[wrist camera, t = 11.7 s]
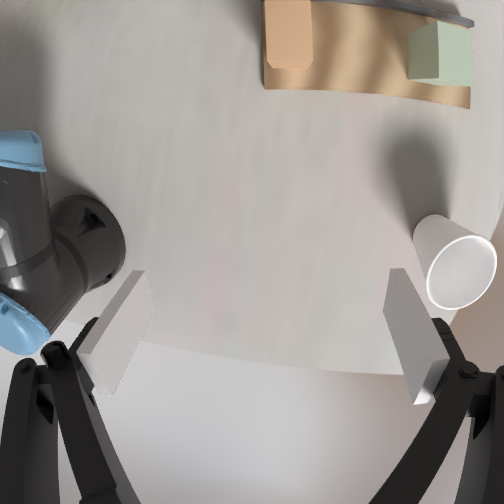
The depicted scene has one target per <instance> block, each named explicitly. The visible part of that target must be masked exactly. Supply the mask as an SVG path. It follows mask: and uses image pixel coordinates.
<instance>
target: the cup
mask: <svg viewBox="0 0 504 504" xmlns="http://www.w3.org/2000/svg"><path fill="white" fill-rule="evenodd" d="M413 243H414V246H415V249H416V252H417V255H418V258H419V261H420V265H421V268H422V271H423V275H424V278H425V287H426V292H427V295H428V297H429V299H430V300H431V301H432V302H433V303H434V304H435V305H436V306H438V307H440V308H443V309H450V310H453V309H459V308H462V307H465V306H467V305H469V304H471V303H473V302H474V301H476V300H477V299H478V298H479V297H480V296H481V295H483V293H484V292H485V291H486V290H487V288H488V287H489V285H490V284H491V282H492V280H493V278H494V275H495V272H496V267H497V256H496V252H495V249H494V246H493V245H492V244H491V242H490V241H489V240H488V239H487V238H486V237H484V236H481V235H478V234H475V233H473V232H471V231H469V230H467V229H466V228H464V227H462V226H460V225H458V224H456V223H455V222H453V221H451V220H449V219H447V218H445V217H443V216H441V215H437V214H435V215H429V216H427V217H425V218H423V219H422V220H421V221H420V222H419V223H418V224H417V226H416V228H415V230H414V234H413Z"/></svg>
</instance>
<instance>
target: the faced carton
mask: <svg viewBox="0 0 504 504" xmlns="http://www.w3.org/2000/svg"><path fill="white" fill-rule="evenodd" d="M265 24H266V50H267V61H268V63H269V64H270V65H271V67H272V68H299V69H308V68H309V66H310V65H311V63H312V62H313V42H312V19H311V1H310V0H265Z"/></svg>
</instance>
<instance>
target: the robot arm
mask: <svg viewBox="0 0 504 504" xmlns="http://www.w3.org/2000/svg"><path fill="white" fill-rule="evenodd" d="M46 171H47V168H46V166H45V164H44V157H43V148H42V141H41V138H40V137H39V135H38V134H37V133H35V132H34V131H31V130H2V131H0V345H1V346H2V347H4V348H5V349H7V350H9V351H11V352H13V353H15V354H18V355H23V356H26V355H31V354H33V353H35V352H36V351H37V350H38V349H39V348H40V347H41V346H42V344H43V343H44V342H45V341H47V340H49V338H50V337H51V335H52V334H53V333H54V331H55V330H56V329H57V327H58V326H59V325H60V323H61V322H62V321H63V320H64V318H65V317H66V316H67V315H68V313H69V312H70V311H71V310H72V308H73V307H74V306H75V305H76V303H77V302H78V301H79V300H80V298H81V297H82V296H83V295H84V294H85V293H87V292H89V291H91V290H93V289H96V288H98V287H100V286H102V285H104V284H106V283H108V282H109V281H110V280H112V279H113V278H114V276H115V275H116V274H117V273H118V272H119V270H120V269H121V267H122V265H123V263H124V260H125V252H126V249H125V240H124V236H123V233H122V231H121V228H120V226H119V224H118V222H117V221H116V219H115V218H114V216H113V215H112V214H111V213H110V211H109V210H108V209H107V208H106V207H105V206H103V205H102V204H101V203H99V202H98V201H96V200H94V199H92V198H90V197H87V196H82V195H74V196H69V197H67V198H65V199H63V200H62V201H60V202H58V203H57V204H55V205H54V206H53V207H52V208H51V209H49V202H48V193H47V183H46ZM154 313H155V307H154V304H153V300H152V296H151V293H150V289H149V285H148V281H147V277H146V273H145V271H132V272H131V274H130V275H129V277H128V278H127V279H126V281H125V282H124V283H123V285H122V286H121V287H120V289H119V290H118V292H117V293H116V294H115V296H114V297H113V299H112V300H111V301H110V303H109V304H108V306H107V307H106V308H105V310H104V311H103V313H102V314H101V316H100V317H94V318H93V319H91V320H90V321H89V322H88V323H87V324H86V325H85V327H84V328H83V329H82V331H81V332H80V334H79V336H78V337H77V338H76V339H75V341H74V342H73V344H72V346H71V347H70V348H69V350H67V348H66V346H65V344H64V342H62V341H53V342H50V343H48V344H47V345H45V346H44V347H43V349H42V350H41V354H40V355H41V357H42V359H43V361H44V362H45V364H46V365H38V366H37V364H36V362H35V361H34V359H32V358H25V359H22V360H21V361H19V362H18V363H17V365H15V368H14V371H13V375H12V379H11V384H10V389H9V393H8V399H7V404H6V410H5V415H4V422H3V428H2V436H1V444H0V504H60V496H59V481H58V445H57V444H58V421H59V425H60V429H61V433H62V437H63V440H64V444H65V447H66V451H67V454H68V458H69V461H70V464H71V467H72V470H73V473H74V476H75V479H76V482H77V485H78V487H79V490H80V493H81V496H82V499H81V500H80V501H79V504H141V503H140V501H139V499H138V497H137V496H136V494H135V492H134V490H133V488H132V486H131V484H130V482H129V480H128V478H127V476H126V474H125V472H124V469H123V467H122V465H121V463H120V461H119V459H118V456H117V454H116V452H115V450H114V447H113V445H112V443H111V440H110V438H109V436H108V433H107V430H106V428H105V425H104V423H103V420H102V418H101V415H100V412H99V410H98V407H97V404H96V401H95V399H94V396H93V394H92V393H91V391H92V389H93V387H94V386H95V388H96V390H97V391H98V393H99V394H101V395H106V396H111V397H112V396H113V394H114V393H115V391H116V388H117V386H118V384H119V382H120V380H121V378H122V375H123V374H124V372H125V370H126V368H127V366H128V364H129V362H130V360H131V358H132V356H133V354H134V352H135V349H136V348H137V346H138V344H139V341H140V340H141V338H142V336H143V334H144V332H145V330H146V328H147V326H148V324H149V322H150V320H151V318H152V316H153V315H154ZM383 313H384V315H385V318H386V321H387V324H388V327H389V329H390V332H391V335H392V338H393V341H394V344H395V347H396V350H397V353H398V356H399V359H400V362H401V365H402V369H403V372H404V375H405V378H406V382H407V385H408V388H409V392H410V395H411V399H412V402H413V405H415V404H422V403H429V401H430V399H431V398H432V396H433V394H434V397H435V400H436V402H435V404H434V406H433V408H432V409H431V411H430V413H429V415H428V416H427V418H426V420H425V422H424V423H423V425H422V427H421V429H420V430H419V432H418V434H417V435H416V437H415V438H414V440H413V442H412V443H411V445H410V446H409V448H408V449H407V451H406V453H405V454H404V456H403V457H402V459H401V460H400V462H399V463H398V464H397V466H396V467H395V469H394V470H393V472H392V473H391V474H390V476H389V477H388V479H387V480H386V482H385V483H384V484H383V486H382V487H381V488H380V489H379V491H378V492H377V493H376V495H375V496H374V497H373V498H372V500H371V501H370V502H369V504H418V503H419V501H420V500H421V498H422V497H423V495H424V493H425V492H426V490H427V488H428V487H429V485H430V484H431V482H432V480H433V478H434V477H435V475H436V473H437V471H438V470H439V468H440V466H441V464H442V462H443V460H444V458H445V457H446V455H447V453H448V451H449V449H450V447H451V445H452V443H453V441H454V439H455V437H456V435H457V433H458V430H459V428H460V426H461V424H462V422H463V419H464V417H472V419H471V426H470V433H469V439H468V445H467V451H466V456H465V461H464V467H463V471H462V475H461V480H460V484H459V488H458V492H457V496H456V499H455V503H454V504H504V365H503V366H500V367H499V368H498V369H497V370H496V372H495V373H487V372H481V371H480V370H479V368H478V367H477V366H476V365H475V364H473V363H472V362H469V361H466V359H465V357H464V355H463V353H462V351H461V349H460V347H459V345H458V343H457V341H456V340H455V337H454V335H453V334H452V331H451V330H450V328H449V326H448V324H447V323H446V322H445V321H443V320H442V319H441V318H430V316H429V314H428V312H427V310H426V308H425V306H424V304H423V302H422V300H421V298H420V297H419V295H418V293H417V291H416V289H415V287H414V285H413V284H412V282H411V280H410V278H409V276H408V275H407V273H406V271H405V269H404V268H397V269H391V270H390V276H389V281H388V287H387V292H386V298H385V303H384V308H383Z"/></svg>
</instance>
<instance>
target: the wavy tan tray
mask: <svg viewBox="0 0 504 504" xmlns="http://www.w3.org/2000/svg"><path fill="white" fill-rule="evenodd" d="M310 1H311V19H312V42H313V62H312V63H311V65H310V66H309V68H308V69H299V68H272V67H271V65H270V64H269V63H268V61H267V50H266V24H265V0H261V7H262V31H263V59H264V89H307V90H332V91H348V92H360V93H371V94H381V95H389V96H397V97H405V98H412V99H418V100H425V101H430V102H436V103H442V104H447V105H452V106H457V107H462V108H466V109H470V86H444V85H433V84H428V83H423V82H417V81H411V80H408V43H407V34H408V33H410V32H412V31H414V30H416V29H419V28H421V27H423V26H426V25H428V24H430V23H433V22H435V21H441V22H444V23H448V24H451V25H455V26H458V27H461V28H464V29H468V30H469V28H471V27H474V21H473V20H470V19H467V18H464V17H461V16H458V15H454V14H451V13H447V12H444V11H440V10H436V9H432V8H428V7H424V6H420V5H415V4H411V3H406V2H401V1H395V0H310Z"/></svg>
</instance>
